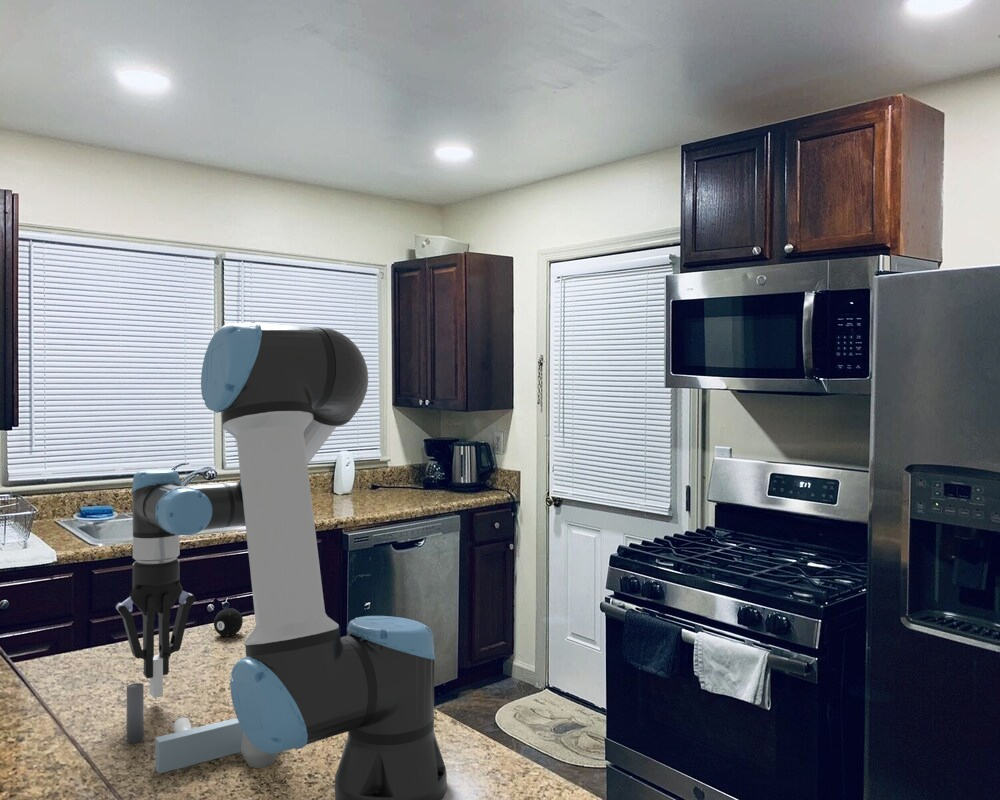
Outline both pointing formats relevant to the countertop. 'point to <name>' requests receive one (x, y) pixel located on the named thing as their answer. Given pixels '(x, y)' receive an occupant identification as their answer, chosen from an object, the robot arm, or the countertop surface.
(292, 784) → the countertop surface
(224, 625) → the billiard ball
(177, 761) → the board
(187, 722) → the white pin
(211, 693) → the countertop surface
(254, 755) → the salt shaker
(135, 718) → the charcoal pin
